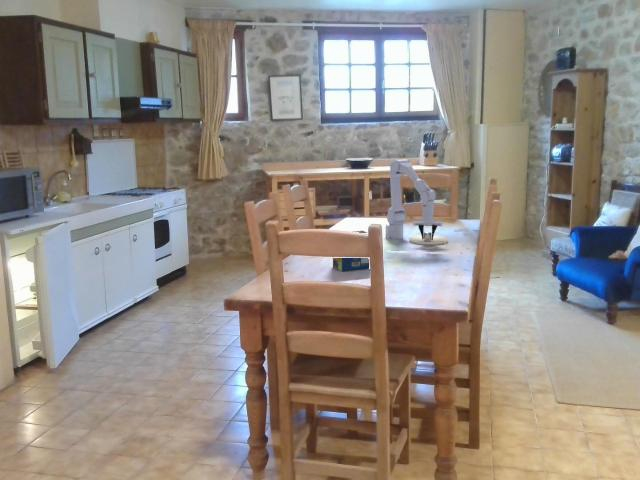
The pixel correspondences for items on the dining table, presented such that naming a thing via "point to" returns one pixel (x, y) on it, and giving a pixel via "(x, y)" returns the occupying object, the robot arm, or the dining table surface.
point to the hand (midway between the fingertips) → (427, 239)
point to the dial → (428, 239)
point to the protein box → (351, 262)
